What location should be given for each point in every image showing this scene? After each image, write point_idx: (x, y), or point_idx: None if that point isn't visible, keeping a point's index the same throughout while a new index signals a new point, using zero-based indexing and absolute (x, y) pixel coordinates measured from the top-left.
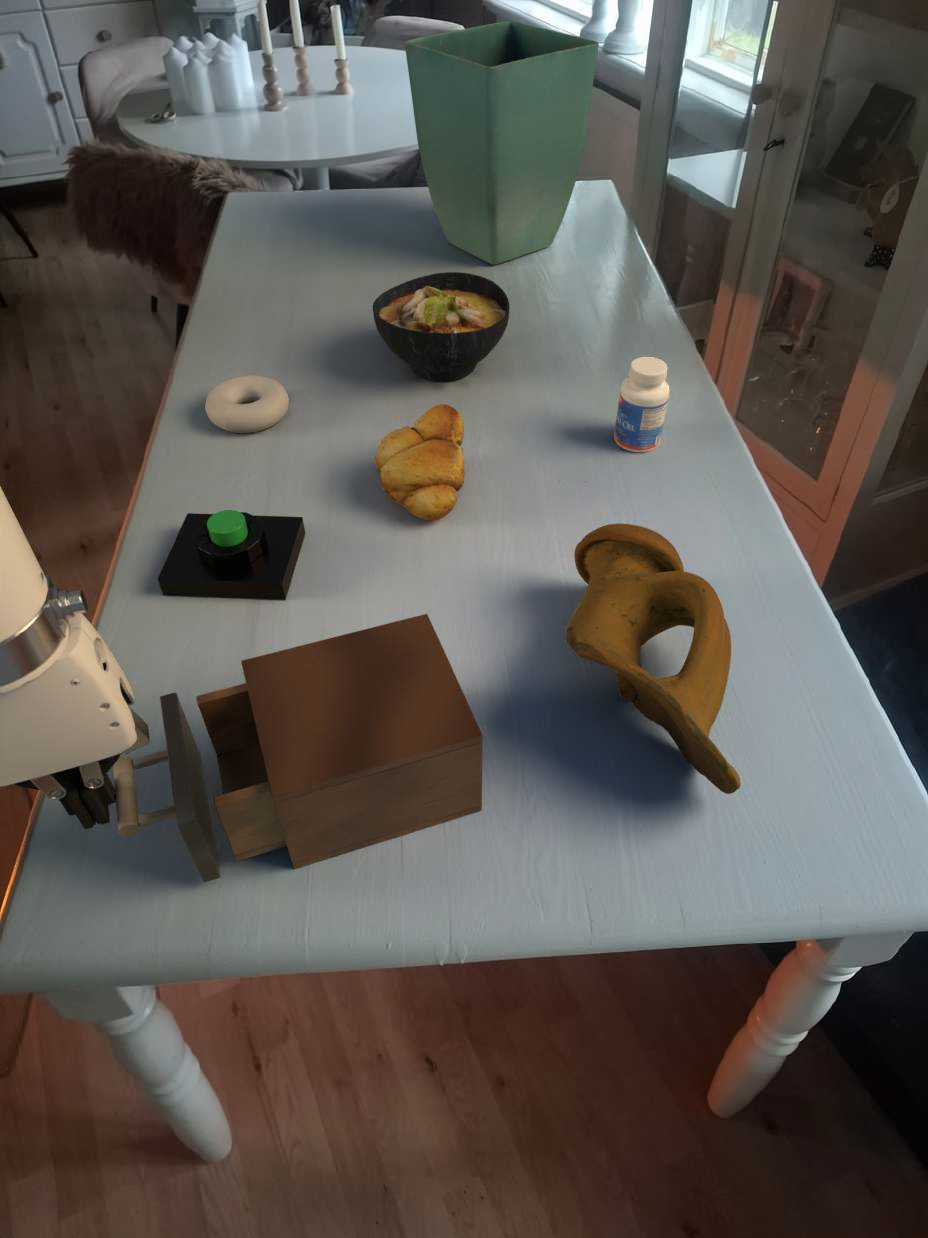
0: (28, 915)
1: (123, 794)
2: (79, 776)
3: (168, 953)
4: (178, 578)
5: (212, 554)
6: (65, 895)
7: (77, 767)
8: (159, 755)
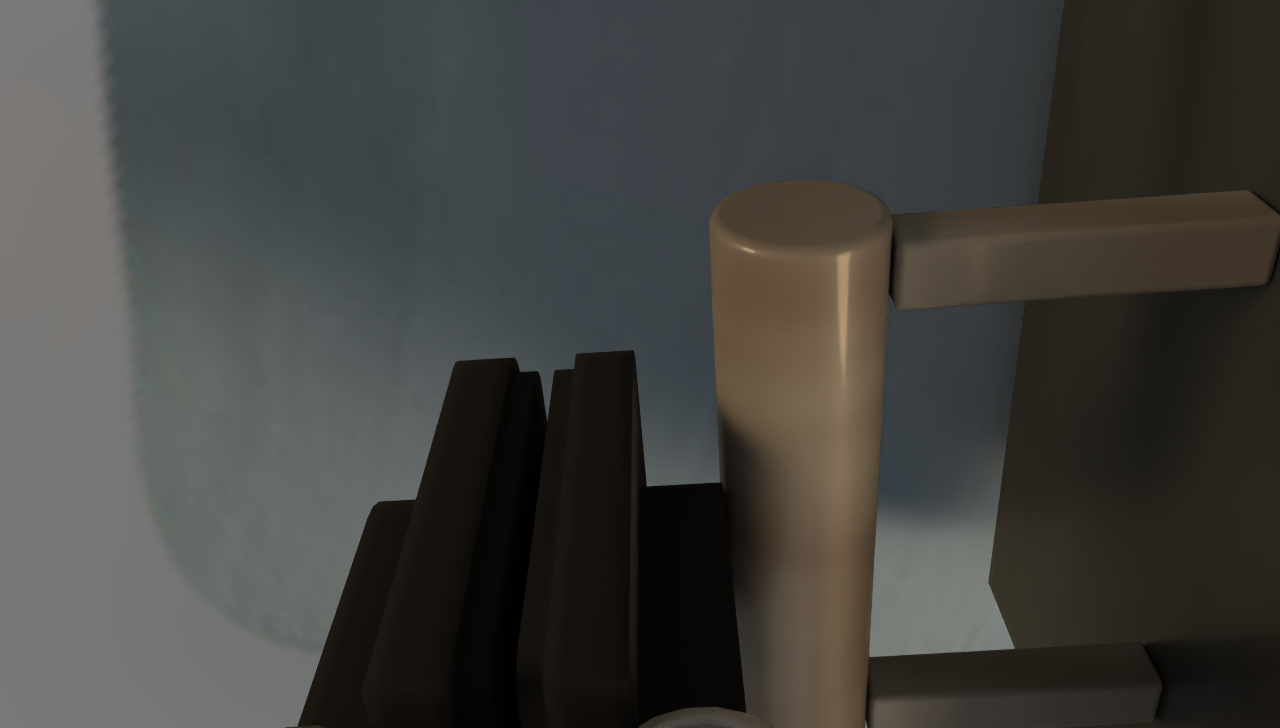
0: (203, 477)
1: (808, 600)
2: (516, 725)
3: None
4: None
5: None
6: (351, 431)
7: (499, 714)
8: (1146, 265)
